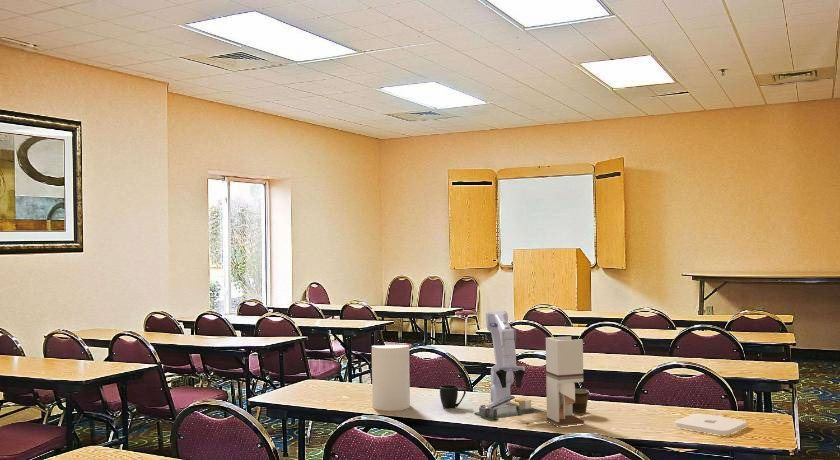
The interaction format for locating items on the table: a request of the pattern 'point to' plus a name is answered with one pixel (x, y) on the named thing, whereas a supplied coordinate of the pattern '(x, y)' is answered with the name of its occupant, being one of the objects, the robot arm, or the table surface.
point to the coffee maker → (563, 378)
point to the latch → (523, 403)
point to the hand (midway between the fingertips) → (511, 387)
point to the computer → (711, 424)
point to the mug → (450, 396)
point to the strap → (499, 402)
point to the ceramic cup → (580, 401)
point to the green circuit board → (502, 411)
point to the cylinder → (390, 377)
